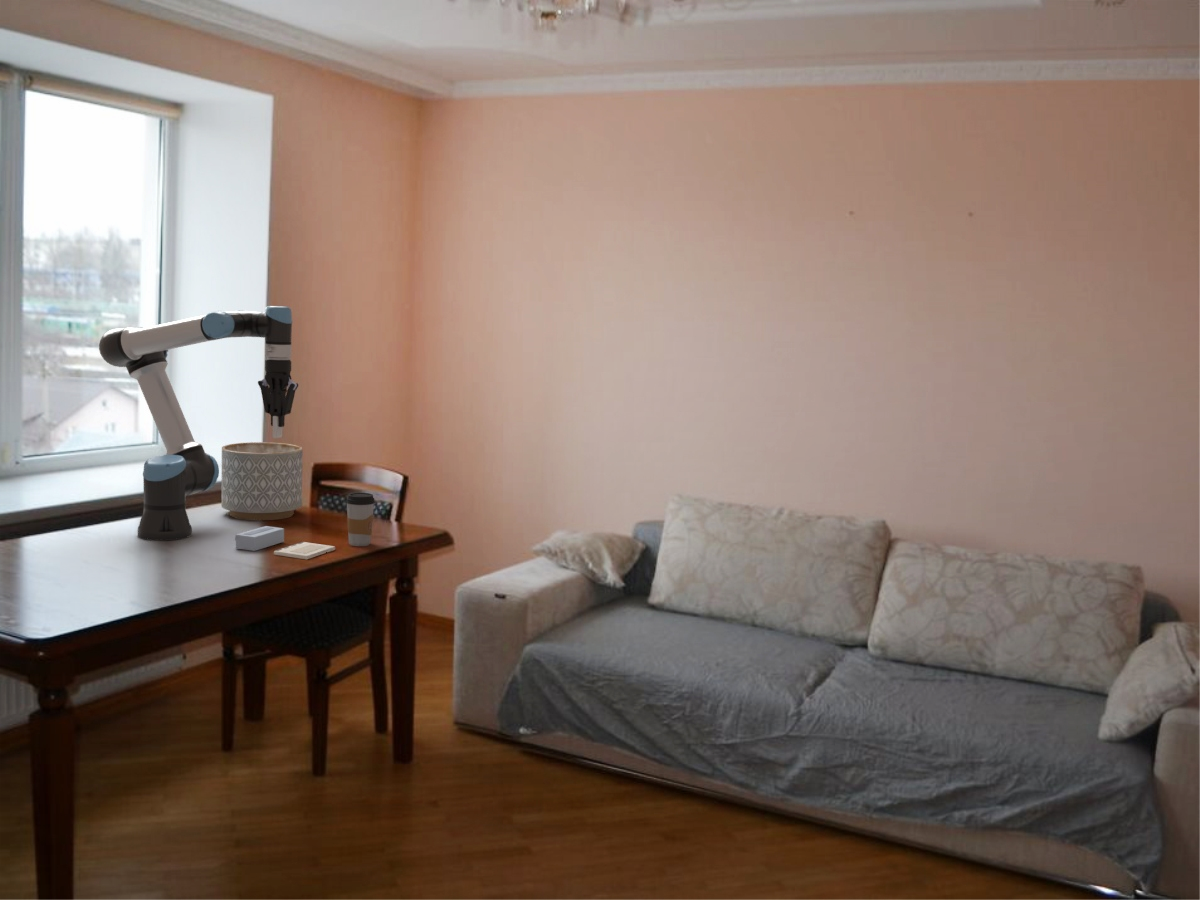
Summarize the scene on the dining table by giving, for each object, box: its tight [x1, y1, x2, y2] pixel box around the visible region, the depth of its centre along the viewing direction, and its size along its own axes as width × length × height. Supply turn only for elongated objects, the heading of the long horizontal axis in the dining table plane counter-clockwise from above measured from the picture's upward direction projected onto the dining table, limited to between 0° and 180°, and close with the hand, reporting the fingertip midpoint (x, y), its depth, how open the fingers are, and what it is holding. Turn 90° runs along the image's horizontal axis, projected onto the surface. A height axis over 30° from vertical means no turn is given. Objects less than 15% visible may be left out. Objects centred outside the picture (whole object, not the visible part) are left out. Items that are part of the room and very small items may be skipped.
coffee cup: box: [345, 492, 376, 547], centre depth 340 cm, size 8×8×15 cm
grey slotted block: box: [235, 525, 285, 552], centre depth 333 cm, size 6×14×4 cm, turn 160°
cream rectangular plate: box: [273, 541, 336, 560], centre depth 328 cm, size 11×14×1 cm
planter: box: [221, 441, 303, 521], centre depth 375 cm, size 26×26×22 cm
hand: (277, 437), depth 341 cm, fingers closed
